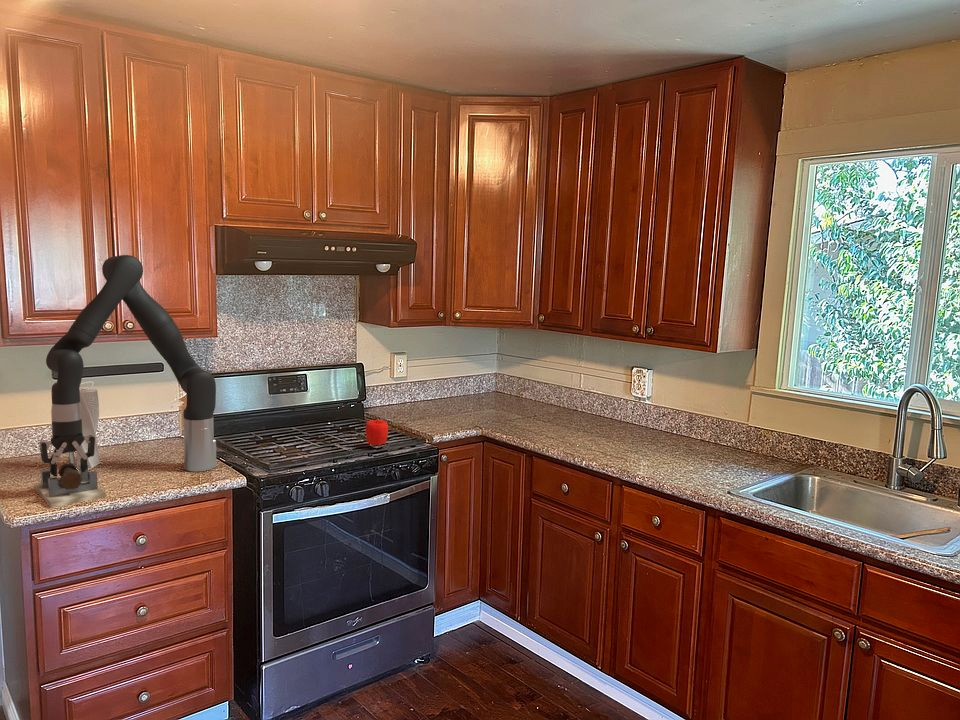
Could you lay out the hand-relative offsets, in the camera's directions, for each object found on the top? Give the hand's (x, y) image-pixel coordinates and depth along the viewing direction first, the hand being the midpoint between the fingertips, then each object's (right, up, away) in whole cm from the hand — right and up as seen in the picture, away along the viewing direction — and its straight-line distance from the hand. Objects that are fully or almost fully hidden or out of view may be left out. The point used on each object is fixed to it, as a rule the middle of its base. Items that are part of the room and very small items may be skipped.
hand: (69, 473), depth 204 cm
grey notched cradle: (0, -4, +1) cm, 4 cm away
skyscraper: (-9, -2, +26) cm, 28 cm away
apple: (+80, -1, +64) cm, 103 cm away
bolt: (0, -3, 0) cm, 3 cm away
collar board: (0, -6, +1) cm, 6 cm away
